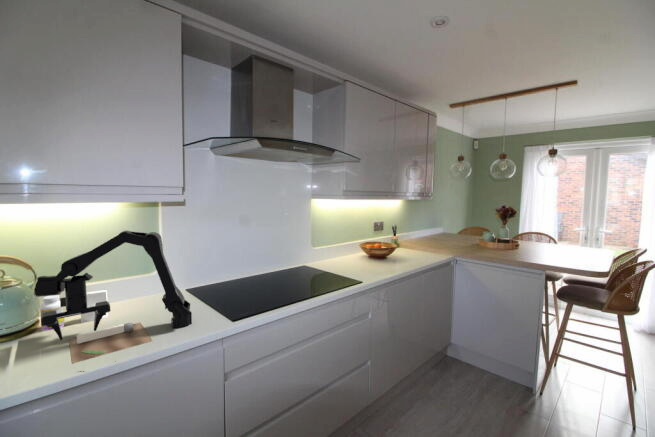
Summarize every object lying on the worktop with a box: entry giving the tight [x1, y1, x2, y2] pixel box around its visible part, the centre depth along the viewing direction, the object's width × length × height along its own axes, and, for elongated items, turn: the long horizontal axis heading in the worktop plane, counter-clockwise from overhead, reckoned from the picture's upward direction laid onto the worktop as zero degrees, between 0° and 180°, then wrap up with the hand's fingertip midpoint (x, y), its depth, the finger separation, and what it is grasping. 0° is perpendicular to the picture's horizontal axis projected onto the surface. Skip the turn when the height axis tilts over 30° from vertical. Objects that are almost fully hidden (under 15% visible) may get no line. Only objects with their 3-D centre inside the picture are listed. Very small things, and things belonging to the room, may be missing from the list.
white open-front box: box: [80, 289, 109, 324], centre depth 127 cm, size 9×9×12 cm
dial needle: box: [76, 322, 134, 344], centre depth 110 cm, size 16×3×3 cm, turn 132°
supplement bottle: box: [39, 295, 65, 332], centre depth 118 cm, size 7×7×13 cm
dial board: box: [68, 321, 153, 365], centre depth 108 cm, size 22×20×2 cm
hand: (78, 335), depth 109 cm, fingers open, 9 cm apart
